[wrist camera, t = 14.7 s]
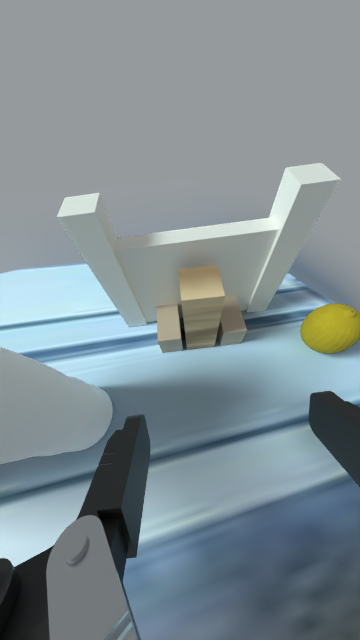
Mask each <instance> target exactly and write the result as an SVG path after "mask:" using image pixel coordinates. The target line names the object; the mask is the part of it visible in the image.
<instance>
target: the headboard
mask: <svg viewBox="0 0 360 640" xmlns="http://www.w3.org/2000/svg"><path fill="white" fill-rule="evenodd" d="M340 180H341V179H340V178H339V177H338V176H336V175H335V174H334V173H333V172H332V171H331V170H329V169H328V168H327V167H326V166H325V165H323V164H322V163H317V164H310V165H302V166H295V167H288V168H286V169H285V172H284V175H283V178H282V181H281V184H280V187H279V189H278V192H277V195H276V198H275V201H274V204H273V207H272V210H271V214H270V216H269V218H264V219H257V220H249V221H241V222H234V223H227V224H219V225H211V226H204V227H196V228H188V229H181V230H173V231H166V232H158V233H150V234H143V235H135V236H127V237H120V238H118V237H117V235H116V232H115V230H114V227H113V225H112V222H111V220H110V217H109V215H108V213H107V210H106V208H105V205H104V203H103V200H102V198H101V196H100V193H95V194H88V195H80V196H73V197H66V198H65V199H64V201H63V204H62V206H61V208H60V211H59V213H58V215H57V219H58V220H59V222H60V223H61V225H62V226H63V228H64V229H65V231H66V232H67V234H68V235H69V236H70V238H71V240H72V241H73V243H74V244H75V246H76V247H77V249H78V251H79V252H80V254H81V255H82V257H83V258H84V260H85V261H86V263H87V264H88V266H89V267H90V269H91V270H92V272H93V273H94V275H95V276H96V278H97V279H98V281H99V282H100V284H101V286H102V287H103V289H104V290H105V292H106V293H107V295H108V296H109V298H110V299H111V301H112V302H113V304H114V305H115V307H116V308H117V310H118V311H119V313H120V314H121V316H122V317H123V319H124V321H125V322H126V324H127V325H128V327H135V326H143V325H147V322H154V321H157V332H158V343H159V345H160V347H161V350H162V352H163V353H164V352H172V351H180V350H183V346H182V337H181V328H180V319H179V318H183V311H182V302H181V293H180V283H179V273H178V269H186V268H195V267H203V266H212V265H217V266H218V270H219V274H220V278H221V281H222V285H223V289H224V293H225V299H224V304H223V309H222V313H221V318H220V323H219V327H218V332H217V333H218V337H219V342H220V346H222V345H230V344H238V343H241V342H242V340H243V338H244V336H245V334H246V332H247V328H246V325H245V322H244V319H243V316H242V312H241V311H243V310H246V312H247V313H249V312H257V311H265V310H266V309H267V307H268V305H269V303H270V302H271V300H272V298H273V296H274V295H275V293H276V291H277V289H278V288H279V286H280V284H281V282H282V281H283V279H284V277H285V276H286V274H287V272H288V270H289V269H290V267H291V265H292V263H293V262H294V260H295V258H296V256H297V255H298V253H299V251H300V249H301V248H302V246H303V244H304V242H305V241H306V239H307V237H308V236H309V234H310V232H311V230H312V229H313V227H314V225H315V223H316V222H317V220H318V218H319V216H320V215H321V213H322V211H323V209H324V208H325V206H326V204H327V203H328V201H329V199H330V197H331V196H332V194H333V192H334V190H335V189H336V187H337V185H338V183H339V182H340Z"/></svg>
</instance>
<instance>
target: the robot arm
mask: <svg viewBox="0 0 360 640" xmlns="http://www.w3.org/2000/svg"><path fill="white" fill-rule="evenodd" d="M309 424H310V427H311V429H312V431H313V432H314V434H315V435H316V436H317V437H318V439H319V440H320V441H321V442H322V443H323V444H324V446H325V447H326V448H327V449H328V450H329V451H330V453H331V454H332V455H333V456H334V457H335V459H336V460H337V461H338V462H339V463H340V464H341V466H342V467H343V468H344V469H345V470H346V471H347V473H348V474H349V475H350V476H351V477H352V478H353V480H354V481H355V482H356V483H357V484H358V485H359V487H360V407H358V406H356V405H354V404H352V403H350V402H348V401H344V400H342V399H341V398H340V397H338V396H337V395H336V394H335V393H333V392H331V391H324V392H317V393H312V394H311V396H310V407H309ZM149 458H150V439H149V434H148V430H147V425H146V421H145V417H144V415H136V416H129V417H127V419H126V421H125V424H124V428H123V430H116V431H115V433H114V434H113V435H112V436H111V438H110V439H109V440H108V442H107V444H106V447H105V449H104V452H103V456H102V457H101V460H100V462H99V467H97V470H96V472H95V475H94V477H93V480H92V483H91V485H90V488H89V490H88V493H87V495H86V498H85V501H84V503H83V506H82V508H81V511H80V513H79V515H78V517H77V519H76V521H74V522H73V523H72V524H71V525H69V526H68V527H67V528H66V529H65V531H64V532H63V533H62V534H61V535H60V537H59V538H58V540H57V541H56V543H55V545H53V546H52V547H51V548H49V549H47V550H46V551H44V552H42V553H40V554H38V555H36V556H34V557H33V558H31V559H29V560H27V561H25V562H23V563H21V564H19V565H18V566H16V567H13V565H12V564H11V562H10V561H9V560H8V559H5V558H1V559H0V640H141V638H140V635H139V631H138V628H137V625H136V622H135V619H134V616H133V612H132V609H131V606H130V603H129V600H128V597H127V593H126V590H125V587H124V584H123V576H124V570H125V564H126V558H134V557H136V556H137V548H138V541H139V533H140V526H141V518H142V511H143V503H144V496H145V488H146V481H147V473H148V466H149Z"/></svg>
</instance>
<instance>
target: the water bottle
mask: <svg viewBox="0 0 360 640" xmlns="http://www.w3.org/2000/svg"><path fill="white" fill-rule="evenodd" d="M112 414H113V407H112V402H111V399H110V397H109V395H108V394H107V393H106V392H105V391H104V390H102V389H101V388H99V387H96V386H93V385H90V384H87V383H85V382H84V381H82V380H79V379H77V378H73V377H68V376H66V375H65V374H63V373H61V372H59V371H57V370H55V369H53V368H51V367H49V366H47V365H45V364H42V363H40V362H38V361H35V360H33V359H31V358H28V357H26V356H23V355H21V354H18V353H16V352H13V351H10V350H7V349H4V348H1V347H0V464H4V463H9V462H14V461H18V460H22V459H26V458H30V457H34V456H51V455H56V454H60V453H63V452H75V451H81V450H84V449H87V448H89V447H91V446H93V445H94V444H96V443H97V442H98V441H99V440H100V439H101V438H102V437H103V436H104V434H105V433H106V431H107V429H108V428H109V425H110V423H111V419H112Z"/></svg>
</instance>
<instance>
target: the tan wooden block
mask: <svg viewBox="0 0 360 640" xmlns="http://www.w3.org/2000/svg"><path fill="white" fill-rule="evenodd" d="M178 273H179V283H180V293H181V302H182V311H183V319H184V328H185V336H186V345H187V350H189V349H199V348H209V347H214V346H215V342H216V337H217V332H218V327H219V323H220V318H221V313H222V309H223V304H224V299H225V293H224V289H223V285H222V281H221V278H220V274H219V270H218V266H217V265H212V266H203V267H195V268H186V269H178Z"/></svg>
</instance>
